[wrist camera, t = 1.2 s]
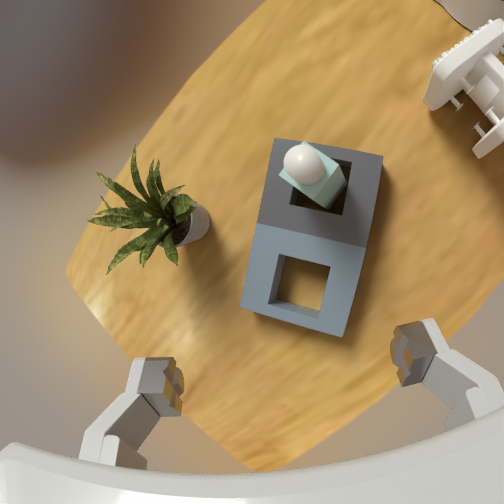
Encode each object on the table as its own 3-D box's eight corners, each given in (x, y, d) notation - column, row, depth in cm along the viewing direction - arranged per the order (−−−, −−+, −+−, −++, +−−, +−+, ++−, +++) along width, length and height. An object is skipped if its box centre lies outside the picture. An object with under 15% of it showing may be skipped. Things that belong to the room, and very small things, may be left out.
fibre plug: (321, 165, 38) (296, 130, 25) (347, 184, 37) (335, 156, 24) (302, 191, 39) (268, 168, 26) (328, 210, 38) (306, 196, 25)
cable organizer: (470, 168, 31) (505, 143, 20) (416, 103, 33) (429, 59, 22) (529, 111, 26) (565, 78, 15) (479, 54, 28) (501, 9, 17)
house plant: (223, 148, 42) (150, 110, 27) (263, 238, 41) (198, 239, 26) (149, 196, 47) (66, 185, 32) (179, 278, 46) (97, 296, 31)
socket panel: (282, 145, 39) (274, 137, 36) (382, 163, 35) (383, 156, 32) (249, 301, 42) (239, 307, 39) (344, 329, 38) (342, 337, 34)
